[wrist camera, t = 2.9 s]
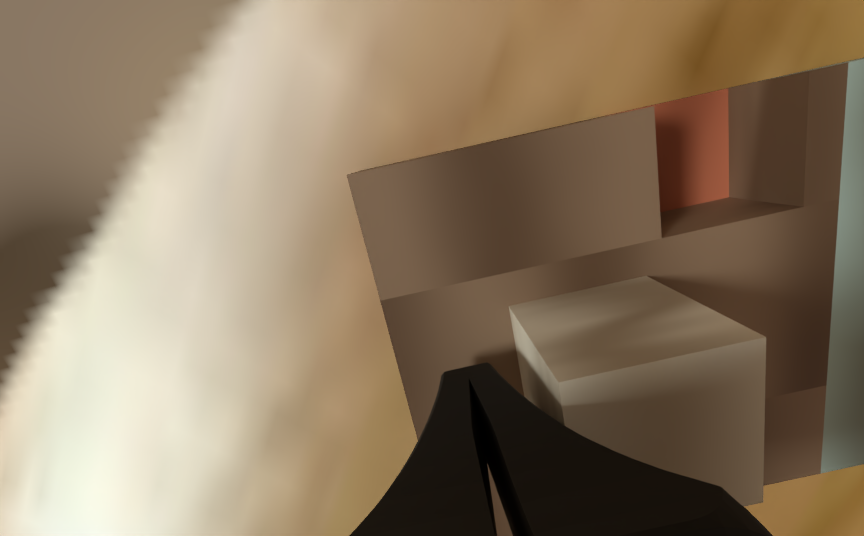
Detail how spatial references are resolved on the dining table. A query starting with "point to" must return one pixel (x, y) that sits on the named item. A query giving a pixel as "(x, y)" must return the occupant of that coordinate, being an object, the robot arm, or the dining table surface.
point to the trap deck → (647, 243)
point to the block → (650, 379)
